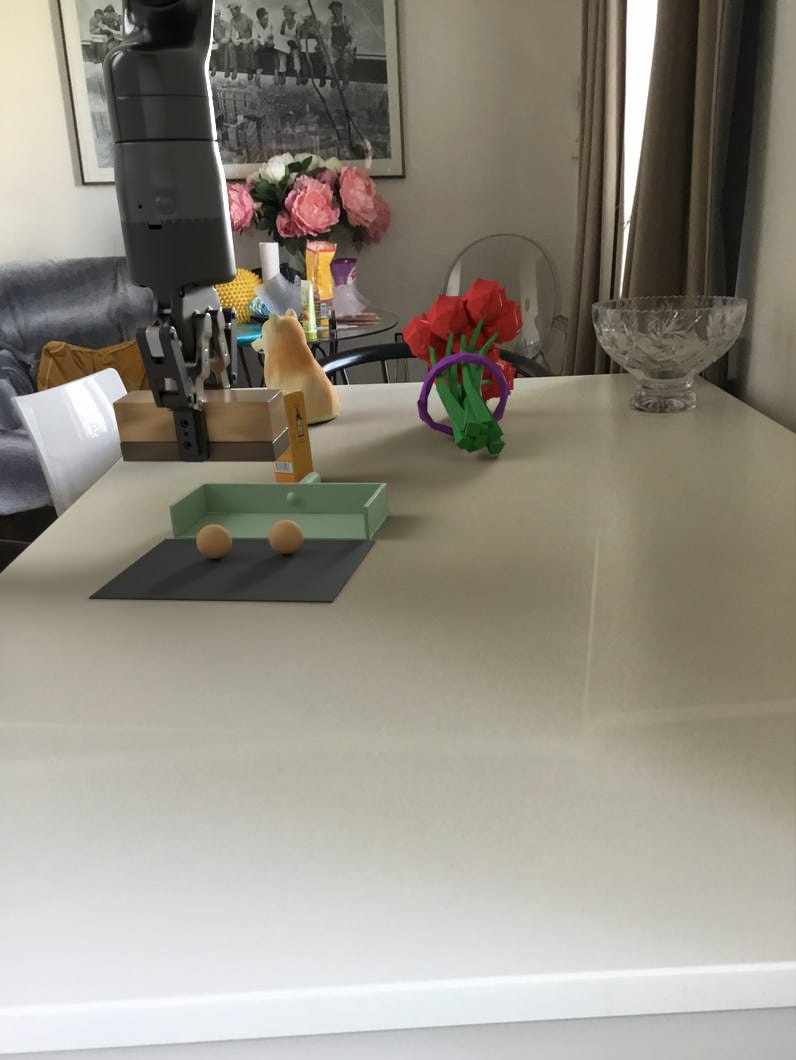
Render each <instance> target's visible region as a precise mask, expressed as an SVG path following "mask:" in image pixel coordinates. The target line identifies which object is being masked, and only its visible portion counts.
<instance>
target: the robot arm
mask: <svg viewBox="0 0 796 1060" xmlns="http://www.w3.org/2000/svg"><path fill="white" fill-rule="evenodd" d="M121 9H122V10H121V14H122V15H121V21H122V22H121V29H122V30H121V35H122V37H121V44H119V45H117V46H115V47H113V48H112V49H111V50H109V51H108V52H107V54H106V55H105V58H104V60H103V65H102V77H103V87H104V88H103V89H104V95H105V100H106V101H105V103H106V108H107V116H108V123H109V128H110V129H109V130H110V136H111V142H112V143H113V144H112V150H113V175H114V177H113V179H114V186H115V194H116V200H117V206H118V213H119V219H120V227H121V234H122V240H123V247H124V253H125V254H124V255H125V259H126V267H127V273H128V279H129V281H130V283H131V284H132V285H133V286H134V287H136V288H141V289H142V288H143V289H147V288H148V289H149V290H151V291H152V292H151V293H152V324H151V325H150V326H138V327H137V328H136V329H135V339H136V343H137V347H138V350H139V353H140V356H141V360H142V363H143V367H144V370H145V374H146V377H147V380H148V383H149V388H150V390H151V391H152V394H153V397H154V401H155V404H156V406H157V407H158V408H167V410H168V411H169V412H173V417H174V424H175V431H176V438H177V445H178V452H179V457H180V459H181V460H182V461H183V462H182V463H206V462H205V461H206V460H208V459H209V458H210V456H211V453H210V446H209V437H208V430H207V422H206V415H205V411H203V409H204V390H232V389H231V386H236V385H237V383H238V331H237V330H238V324H237V322H238V320H237V319H238V315H237V310H236V308H235V307H222V306H221V301H220V298H219V294H218V291H217V287H216V286H218V285H219V286H220V285H225V284H226V285H227V284H229V283H232V282H234V280H235V279H236V278H237V267H236V266H237V265H236V259H235V251H234V250H235V249H234V241H233V233H232V224H231V213H230V205H229V197H228V191H227V189H228V188H227V181H226V175H225V170H224V167H223V161H222V158H221V154H220V148H219V143H218V133H217V125H216V117H215V107H214V100H213V92H212V86H211V80H210V62H211V53H212V47H213V32H214V31H213V30H214V14H215V0H121ZM163 379H164V380H163Z"/></svg>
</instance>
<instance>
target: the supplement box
mask: <svg viewBox="0 0 796 1060" xmlns="http://www.w3.org/2000/svg"><path fill="white" fill-rule="evenodd" d="M282 393H283V401H284V409H285V416H286V424H287V428H288V434H289V442H290V446H289V447H288V448H287V449H286V450H285V451H284V453H283V454H282V455H281V456H280V457H279V458H278V459H277V460H276V461H275V462H272V469H273V476H274V483H299V482H300V481H301V480H302V479H303V478H305V477H306V476H307V475H308V474H309V473H311V472H314V464H313V456H312V455H313V454H312V449H311V441H310V440H311V439H310V432H309V426H308V425H309V424H307V416H306V409H305V401H304V393H303V391H301V390H282Z"/></svg>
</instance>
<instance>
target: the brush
mask: <svg viewBox="0 0 796 1060" xmlns="http://www.w3.org/2000/svg"><path fill="white" fill-rule="evenodd" d="M112 407H113V413H114V417H115V422H116V427H117V432H118V436H119V446H120V452H121V457H122V462H124V463H125V462H126V463H128V462H129V463H132V462H133V463H134V462H135V463H141V462H142V463H143V462H144V463H156V462H157V463H177V462H178V463H184V462H183V461H182V460H181V459H180V457H179V452H178V445H177V438H176V431H175V424H174V417H173V412H169V411H168V410H167V408H158V407H157V406H156V404H155V401H154V397H153V394H152V391H151V389H150V390H146V389H145V390H144V389H143V390H131V391H129V392H128V393H126V394H124V395H123V396H121V397H120V398H118V399H117V400H115V401H114V402H112ZM203 411H205V415H206V422H207V430H208V437H209V446H210V453H211V456H210V458H209V459H208V460H206V461H205V462H204V463H269V462H270V463H273V462H275V461H276V460H277V459H278V458H279V457H280V456H281V455H282V454H283V453H284V451H285V450H286V449H287V448H288V447H289V446H290V442H289V434H288V428H287V424H286V416H285V409H284V401H283V393H282V389H267V388H265V389H261V388H260V389H231V390H204V409H203Z"/></svg>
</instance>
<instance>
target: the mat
mask: <svg viewBox="0 0 796 1060" xmlns="http://www.w3.org/2000/svg"><path fill="white" fill-rule="evenodd" d="M196 541H197V539H195V538H164V539H163V540H161V541H160V542H159V543H158V544H156V545H155V546H154V547H152V548H151V549H150V550H149V551H147V552H146V553H144V554H143V555H142V556H140V557H139V558H138V559H136V560H135V561H134V562H133V563H131V564H130V565H129V566H128V567H126V568H125V569H124V570H122V571H121V572H120V573H118V574H117V575H116V576H114V577H113V578H112V579H110V581H108V582H106V583H105V584H104V585H103V586H101V587H100V588H99V589H98V590H96V591H95V592H93V593H92V594H91V595H89V596H88V600H124V601H125V600H127V601H128V600H129V601H130V600H131V601H187V602H189V601H194V602H249V603H250V602H253V603H254V602H256V603H309V604H310V603H311V604H312V603H313V604H315V603H317V604H318V603H319V604H321V603H322V604H332V603H333V602H334V601H335V599H336V598H337V597H338V595H339V594H340V593H341V591H342V589H344V587H345V585H346V584H347V582H348V581H349V580H350V579H351V577H352V576H353V574H354V573H355V571H356V570H357V568H358V567H359V565H361V563H362V561H363V560H364V558H365V557H366V555H367V554H368V553H369V551H370V550H371V548H372V547H373V545H374V544H375V543H376V540H375V539H370V540H320V539H303V542H302V545H301V547H300V548H299V549H298V550H297V551H295V552H294V553H291V554H281V553H279V552H277V551H275V550H274V549H273V548H272V546H271V545H270V542H269V539H232V546H231V549H230V551H229V552H228V553H227V554H226V555H225V556H224V557H222V558H219V559H211V558H207V557H205V556H204V555H203V554H202V553H201V552H200V551H199V549H198V547H197V542H196Z"/></svg>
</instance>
